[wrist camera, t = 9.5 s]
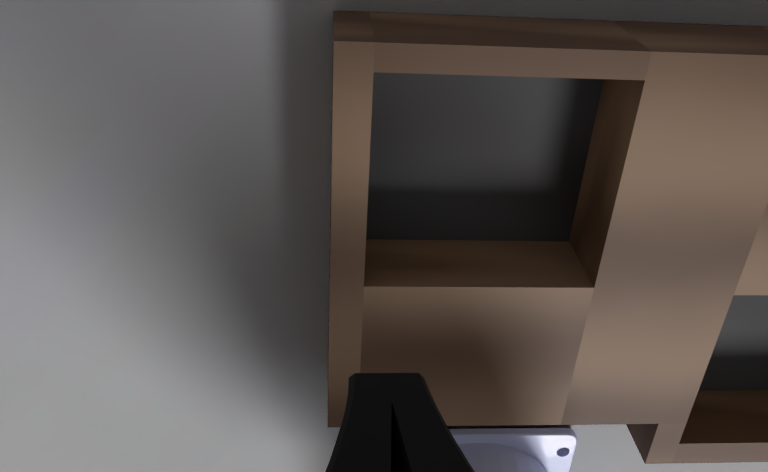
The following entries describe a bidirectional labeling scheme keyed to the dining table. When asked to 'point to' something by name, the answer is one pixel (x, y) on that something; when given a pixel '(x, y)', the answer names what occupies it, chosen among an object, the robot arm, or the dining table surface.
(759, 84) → the trap board
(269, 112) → the dining table surface
